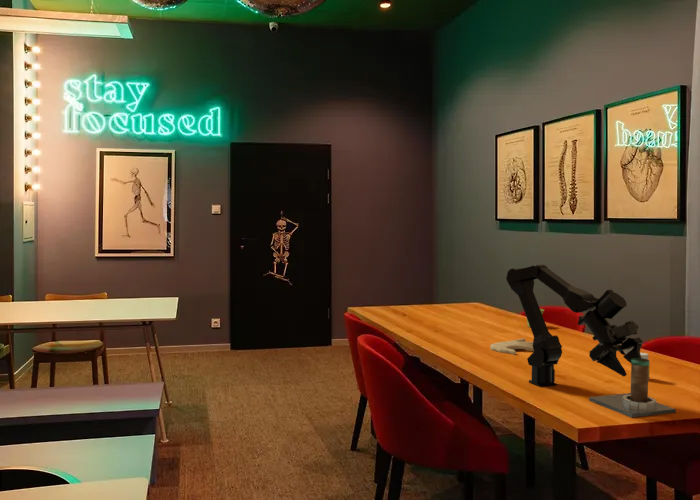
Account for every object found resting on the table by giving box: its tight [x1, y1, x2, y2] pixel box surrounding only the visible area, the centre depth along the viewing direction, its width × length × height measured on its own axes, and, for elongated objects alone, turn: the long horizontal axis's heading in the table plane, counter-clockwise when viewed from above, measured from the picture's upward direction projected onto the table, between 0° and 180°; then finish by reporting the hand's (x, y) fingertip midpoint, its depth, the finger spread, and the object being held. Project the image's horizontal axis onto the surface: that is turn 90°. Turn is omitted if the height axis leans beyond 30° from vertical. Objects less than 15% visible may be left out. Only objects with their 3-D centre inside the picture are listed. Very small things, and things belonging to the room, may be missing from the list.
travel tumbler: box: [630, 358, 650, 402], centre depth 179 cm, size 5×5×13 cm
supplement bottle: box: [640, 352, 651, 381], centre depth 215 cm, size 5×5×8 cm
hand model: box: [489, 338, 534, 356], centre depth 260 cm, size 19×5×20 cm
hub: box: [588, 392, 677, 419], centre depth 182 cm, size 15×17×3 cm
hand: (634, 373), depth 180 cm, fingers open, 9 cm apart
